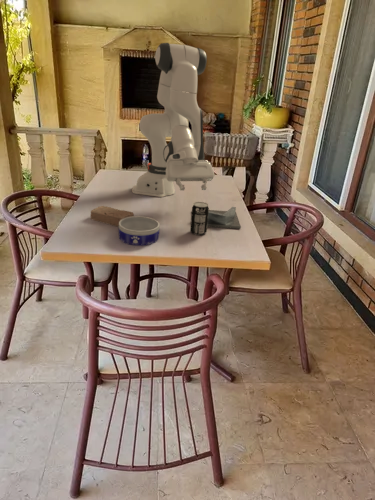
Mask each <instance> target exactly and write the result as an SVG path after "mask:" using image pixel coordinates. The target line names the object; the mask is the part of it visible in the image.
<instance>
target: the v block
mask: <svg viewBox="0 0 375 500" xmlns="http://www.w3.org/2000/svg"><path fill="white" fill-rule="evenodd" d="M236 210H237V207H235V206H231V208H229V209H228V210H217V209H216V210H214V209H209V213H208V223H207V228H216V229H217V228H218V229H219V228H220V229H236V230H240V229H241V228H242V226H241V223H240V220H239V218H238V214H237V211H236ZM241 230H242V229H241Z"/></svg>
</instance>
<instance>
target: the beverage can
mask: <svg viewBox="0 0 375 500" xmlns="http://www.w3.org/2000/svg"><path fill="white" fill-rule="evenodd" d="M209 210H210V209H209V203H206V202H203V201H195V202H193V205H192V207H191V219H190V229H189V230H190V232H191V234H193V235H196V236H202V235H205V234H206V233H207V232H208V227H207V223H208V213H209Z"/></svg>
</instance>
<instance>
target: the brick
mask: <svg viewBox="0 0 375 500" xmlns="http://www.w3.org/2000/svg"><path fill="white" fill-rule="evenodd" d="M132 216H135V215H134V212H132V211H129V210H124V209H121V210H120V209H118V208H114V207H110V206H105V205H100V206H98V207H95V208H93V209H92V210H90V220H91V221H96V222H100V223H103V224H107V225H111V226H114V227H115V226H116V227H119V221H120V220H122V219H124V218H126V217H132Z"/></svg>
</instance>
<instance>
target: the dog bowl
mask: <svg viewBox="0 0 375 500" xmlns="http://www.w3.org/2000/svg"><path fill="white" fill-rule="evenodd" d="M160 225H161V224H160V222H159V221H158V220H156V219H155V218H153V217H148V216H142V215H134V216H132V217H126V218H124V219H122V220H120V221H119V226H118V239H119V240H120V241H121V242H122V243H124V244H125V245H126V244H127V245H130V246H135V247H136V246H137V247H138V246H139V247H140V246H142V247H143V246H149V245H153V244H155V243H156V242H158V241H159V238H160Z"/></svg>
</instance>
